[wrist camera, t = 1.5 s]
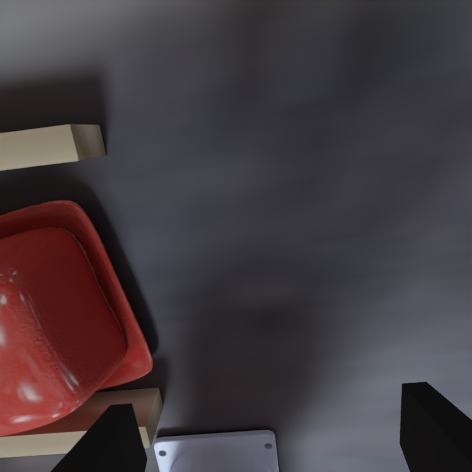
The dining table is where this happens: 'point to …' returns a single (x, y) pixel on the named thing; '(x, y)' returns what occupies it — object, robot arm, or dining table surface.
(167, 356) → the dining table surface
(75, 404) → the butter dish
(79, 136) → the bar
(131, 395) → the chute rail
